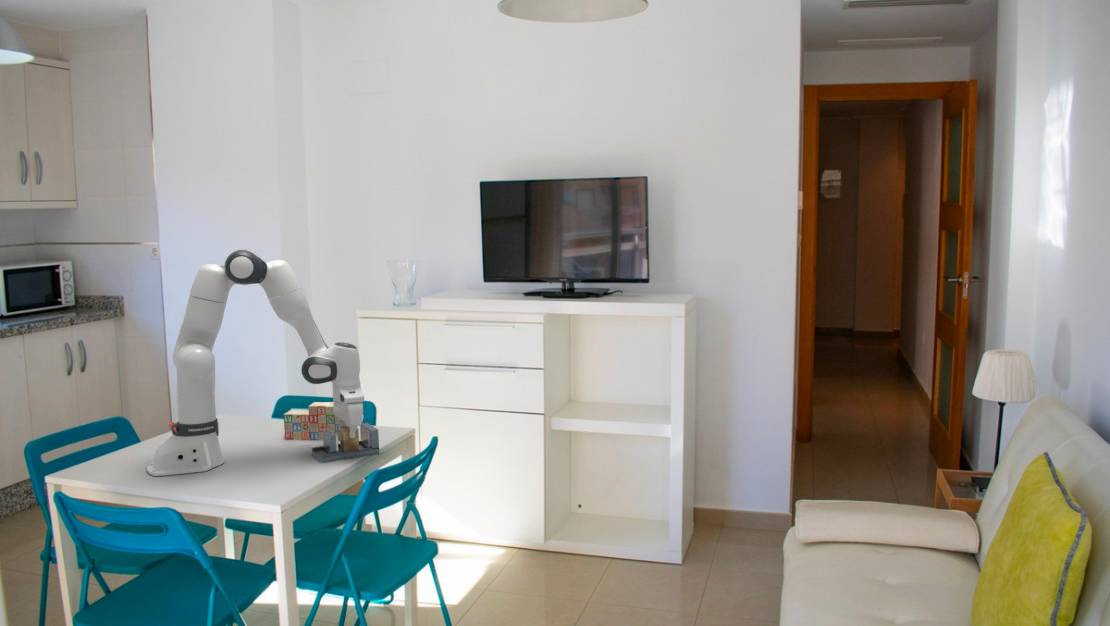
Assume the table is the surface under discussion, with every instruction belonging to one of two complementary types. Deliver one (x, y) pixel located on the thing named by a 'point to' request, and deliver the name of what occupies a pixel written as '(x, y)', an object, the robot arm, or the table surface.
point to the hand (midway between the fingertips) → (347, 434)
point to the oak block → (348, 440)
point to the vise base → (366, 447)
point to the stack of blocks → (311, 422)
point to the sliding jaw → (330, 441)
